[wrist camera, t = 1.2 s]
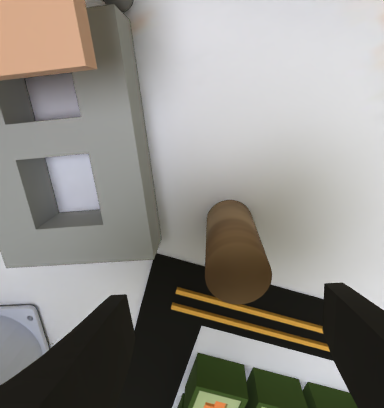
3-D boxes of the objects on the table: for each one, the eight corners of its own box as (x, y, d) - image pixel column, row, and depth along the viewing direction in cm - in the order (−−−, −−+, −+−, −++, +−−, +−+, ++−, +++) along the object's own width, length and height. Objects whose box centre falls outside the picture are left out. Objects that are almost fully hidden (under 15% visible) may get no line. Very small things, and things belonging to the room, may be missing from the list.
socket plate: (161, 239, 22) (154, 259, 19) (31, 247, 22) (6, 268, 20) (129, 20, 17) (113, 4, 14) (-31, 41, 18) (-76, 29, 15)
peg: (252, 240, 21) (272, 302, 15) (208, 243, 21) (207, 305, 15) (251, 198, 20) (271, 245, 14) (204, 201, 20) (202, 249, 14)
